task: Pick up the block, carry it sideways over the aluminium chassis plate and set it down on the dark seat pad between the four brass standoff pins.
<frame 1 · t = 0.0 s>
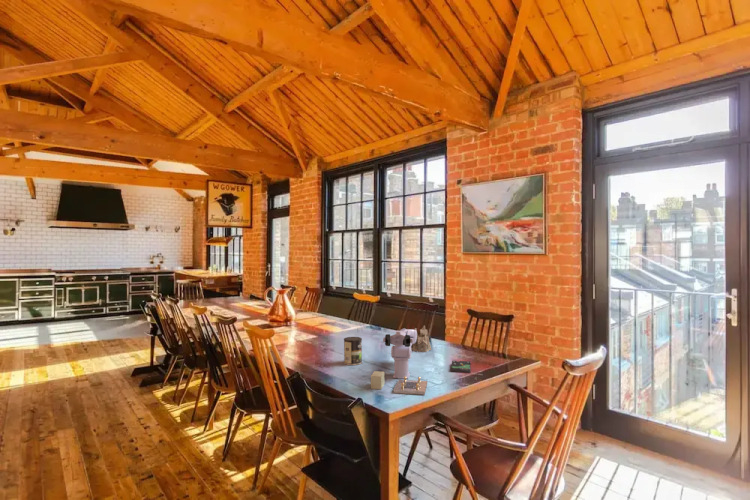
hand: (395, 342, 195), 22 cm above the table, tool horizontal, fingers open, 7 cm apart
chassis: (411, 388, 195), on the table
block: (377, 386, 199), on the table
ceramic cottage: (418, 349, 272), on the table
disk drive: (461, 369, 228), on the table
coffee can: (353, 363, 240), on the table
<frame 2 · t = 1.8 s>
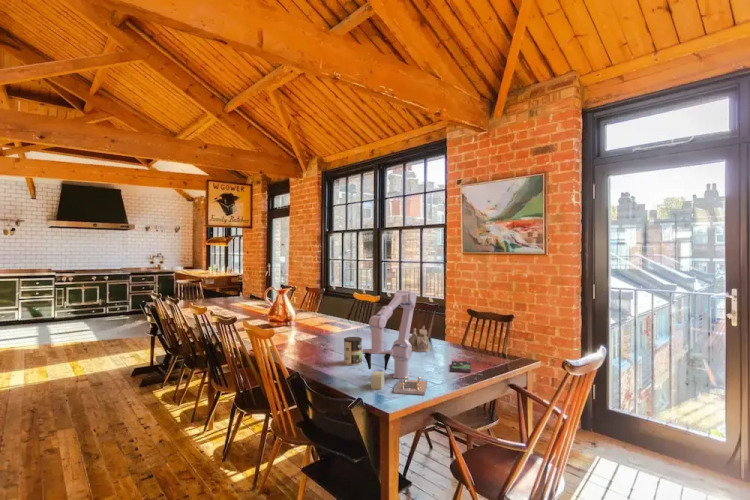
hand: (377, 369, 199), 8 cm above the table, tool pointing down, fingers open, 7 cm apart
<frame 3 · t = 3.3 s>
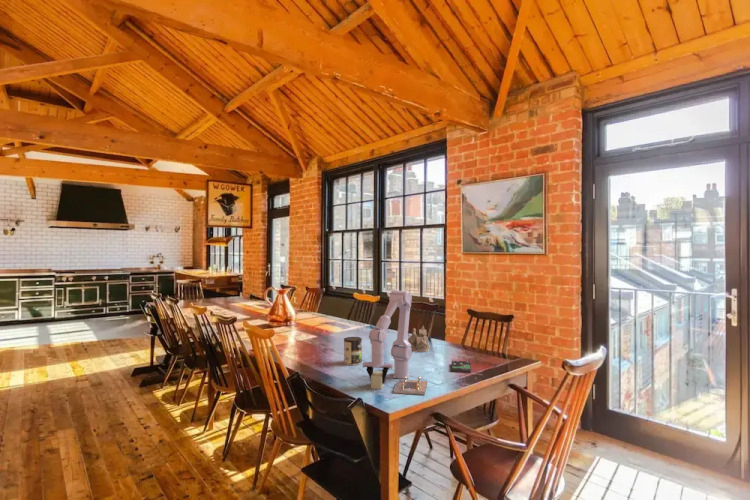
hand: (377, 382, 199), 2 cm above the table, tool pointing down, fingers closed on block, 5 cm apart
block: (377, 386, 199), on the table, touching gripper
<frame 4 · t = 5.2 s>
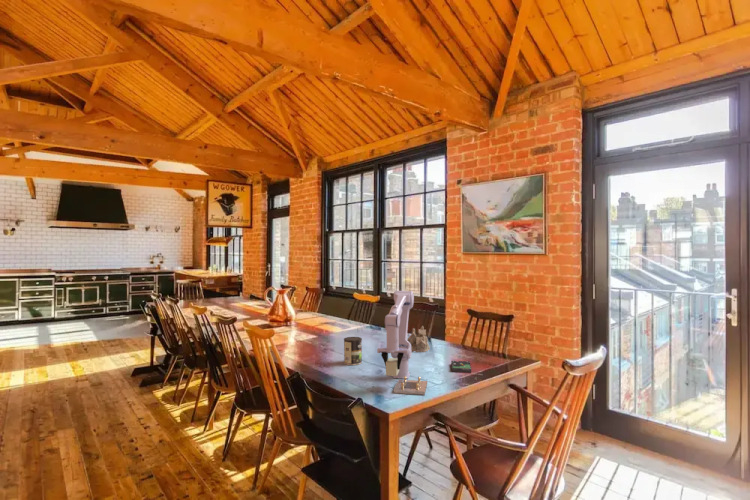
hand: (392, 368, 197), 9 cm above the table, tool pointing down, fingers closed on block, 5 cm apart
block: (392, 373, 197), point 7 cm above the table, touching gripper
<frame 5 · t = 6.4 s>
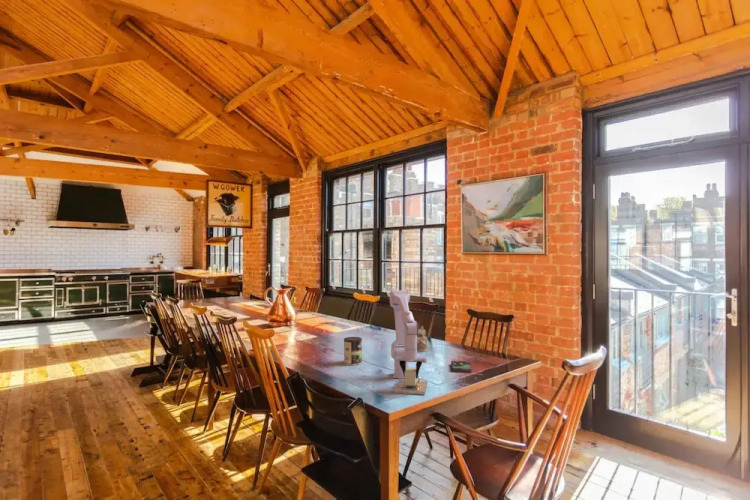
hand: (411, 377, 195), 5 cm above the table, tool pointing down, fingers closed on block, 5 cm apart
block: (411, 382, 195), point 3 cm above the table, touching gripper
when the fingers open (4 cm above the table, at t = 7.5 s): block stays where it is, resting on chassis.
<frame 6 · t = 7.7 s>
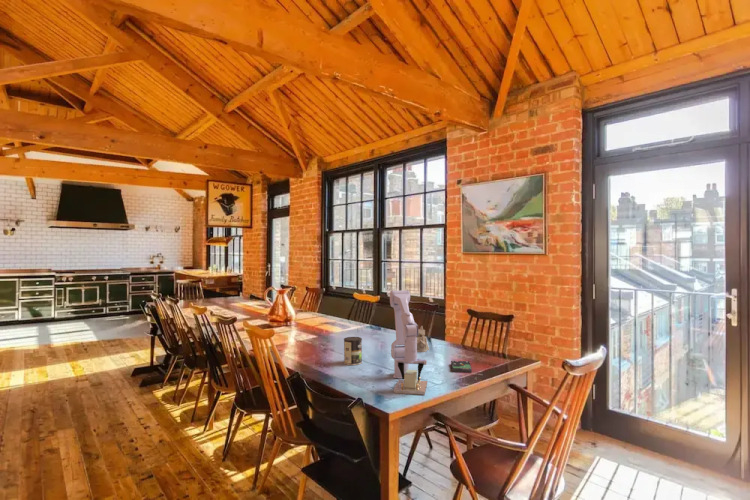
hand: (411, 379, 195), 4 cm above the table, tool pointing down, fingers open, 7 cm apart
block: (411, 385, 195), point 2 cm above the table, touching chassis
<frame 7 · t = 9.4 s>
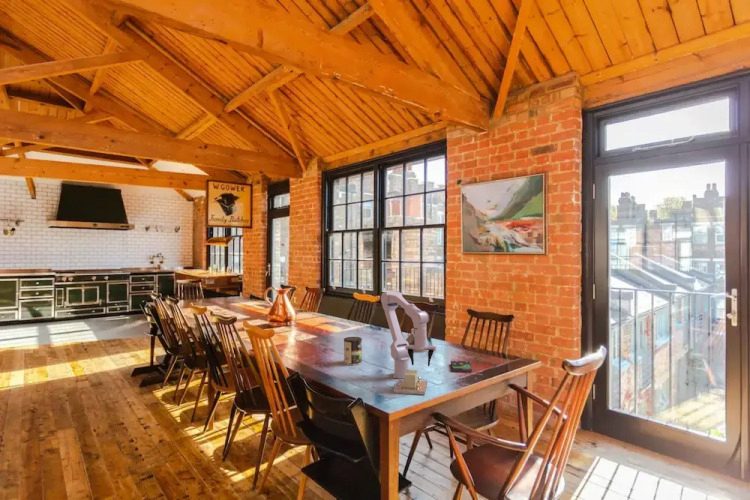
hand: (420, 365, 201), 9 cm above the table, tool pointing down, fingers open, 7 cm apart
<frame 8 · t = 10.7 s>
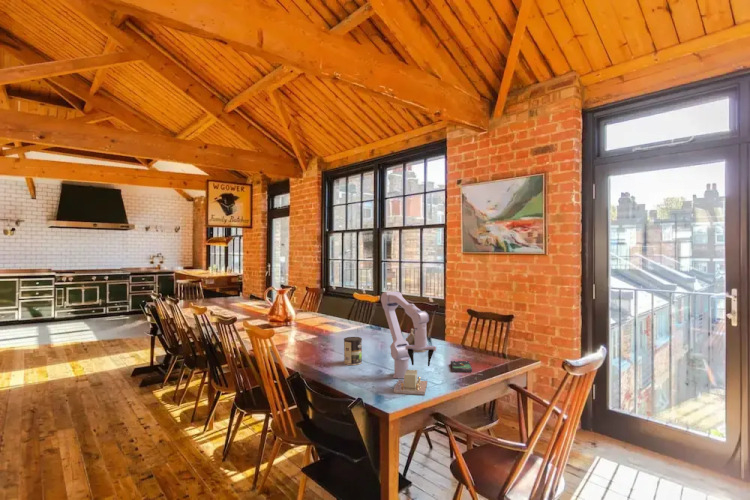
hand: (420, 365, 201), 9 cm above the table, tool pointing down, fingers open, 7 cm apart
at the end: block 0.1 cm off-centre on the chassis, point 1.6 cm above the chassis's base; block tilted 0°; the gripper is holding nothing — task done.
